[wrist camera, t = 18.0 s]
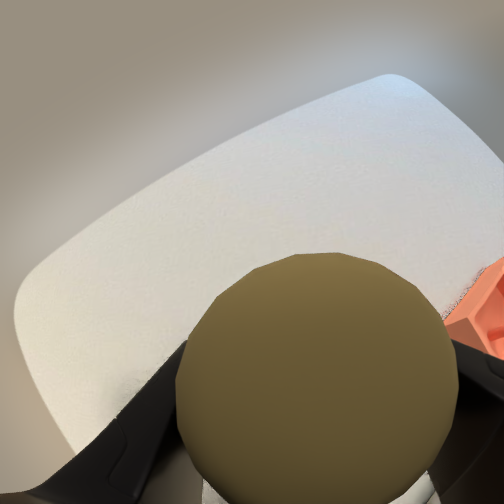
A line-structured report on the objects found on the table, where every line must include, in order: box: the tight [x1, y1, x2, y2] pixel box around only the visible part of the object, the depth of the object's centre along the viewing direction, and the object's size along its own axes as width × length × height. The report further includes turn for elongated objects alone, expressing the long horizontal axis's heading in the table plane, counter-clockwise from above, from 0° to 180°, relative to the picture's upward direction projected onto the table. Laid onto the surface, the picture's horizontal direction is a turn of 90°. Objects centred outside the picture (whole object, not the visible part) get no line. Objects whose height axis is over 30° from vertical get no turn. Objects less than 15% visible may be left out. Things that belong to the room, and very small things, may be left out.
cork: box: [175, 253, 459, 504], centre depth 8 cm, size 6×6×11 cm
